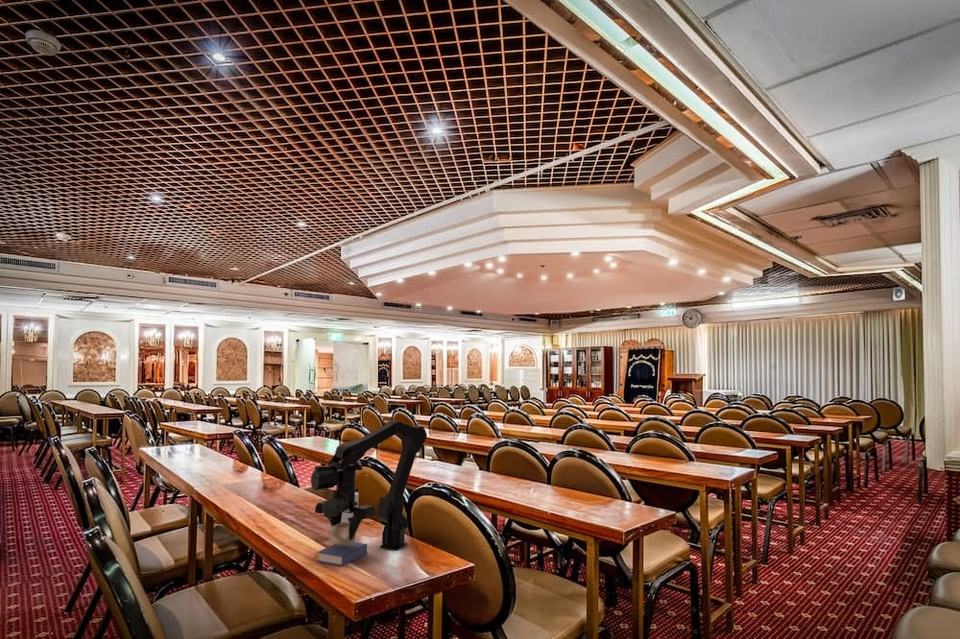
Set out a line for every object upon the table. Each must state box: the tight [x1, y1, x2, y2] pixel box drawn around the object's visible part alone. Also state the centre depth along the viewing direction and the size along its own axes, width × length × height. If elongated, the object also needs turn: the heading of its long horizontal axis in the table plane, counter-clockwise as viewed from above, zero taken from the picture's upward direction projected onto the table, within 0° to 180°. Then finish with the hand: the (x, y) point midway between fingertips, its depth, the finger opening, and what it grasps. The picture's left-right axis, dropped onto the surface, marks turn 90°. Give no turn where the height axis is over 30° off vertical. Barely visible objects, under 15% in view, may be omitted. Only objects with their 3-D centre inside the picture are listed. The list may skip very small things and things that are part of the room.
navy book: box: [317, 541, 368, 567], centre depth 156 cm, size 9×12×3 cm
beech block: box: [331, 522, 357, 545], centre depth 157 cm, size 5×5×5 cm
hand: (343, 538), depth 157 cm, fingers closed on beech block, 5 cm apart
